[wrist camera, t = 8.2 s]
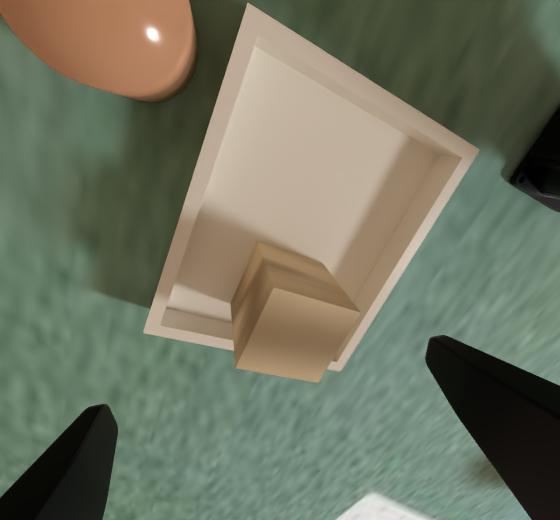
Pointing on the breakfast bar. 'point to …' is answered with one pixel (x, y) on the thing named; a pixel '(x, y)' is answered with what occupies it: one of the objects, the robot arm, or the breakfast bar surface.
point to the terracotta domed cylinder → (111, 42)
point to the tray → (303, 184)
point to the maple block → (288, 315)
